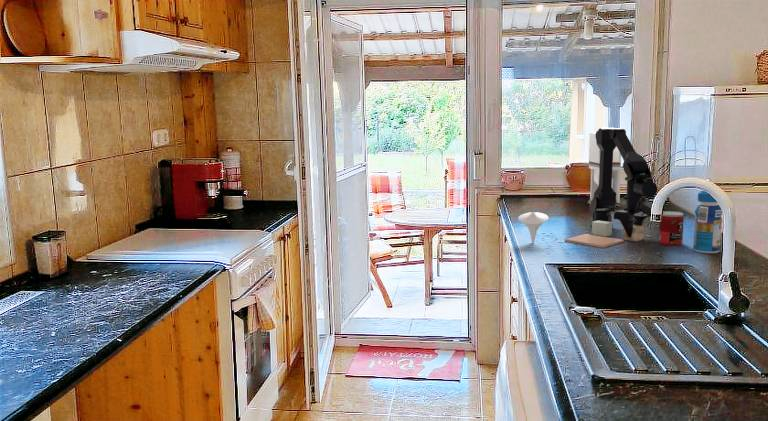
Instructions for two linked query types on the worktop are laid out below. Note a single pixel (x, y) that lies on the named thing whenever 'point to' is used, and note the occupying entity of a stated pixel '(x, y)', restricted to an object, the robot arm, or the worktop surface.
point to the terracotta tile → (594, 240)
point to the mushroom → (533, 222)
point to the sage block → (602, 228)
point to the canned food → (671, 228)
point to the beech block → (635, 233)
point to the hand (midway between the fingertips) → (633, 236)
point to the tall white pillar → (595, 166)
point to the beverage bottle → (707, 224)
